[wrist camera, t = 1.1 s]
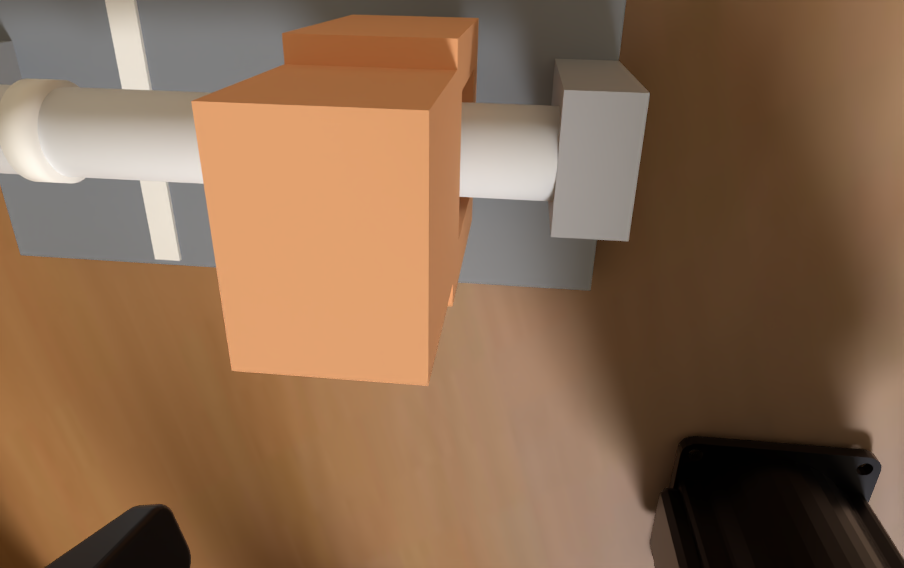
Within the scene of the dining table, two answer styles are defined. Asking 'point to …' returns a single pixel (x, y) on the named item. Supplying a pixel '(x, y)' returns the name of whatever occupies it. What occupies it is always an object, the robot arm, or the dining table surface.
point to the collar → (342, 197)
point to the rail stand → (261, 49)
